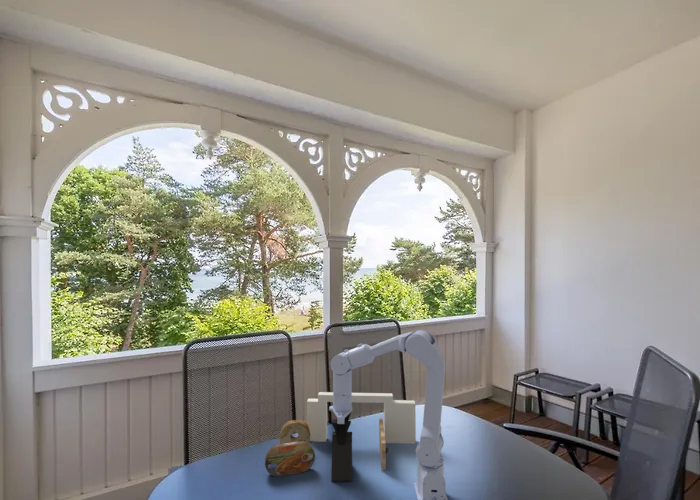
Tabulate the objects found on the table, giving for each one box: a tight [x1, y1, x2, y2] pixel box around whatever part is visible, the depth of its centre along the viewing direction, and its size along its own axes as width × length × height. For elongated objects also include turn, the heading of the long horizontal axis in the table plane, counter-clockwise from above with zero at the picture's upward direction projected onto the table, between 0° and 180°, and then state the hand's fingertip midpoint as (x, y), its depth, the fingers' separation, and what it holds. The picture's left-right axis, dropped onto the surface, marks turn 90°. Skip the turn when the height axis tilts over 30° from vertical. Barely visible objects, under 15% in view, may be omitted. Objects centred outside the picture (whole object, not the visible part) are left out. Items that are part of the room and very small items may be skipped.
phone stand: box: [330, 431, 353, 482], centre depth 108 cm, size 9×6×12 cm, turn 179°
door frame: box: [306, 391, 417, 445], centre depth 129 cm, size 3×39×16 cm, turn 88°
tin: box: [264, 441, 316, 477], centre depth 109 cm, size 15×3×8 cm, turn 105°
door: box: [378, 417, 390, 471], centre depth 119 cm, size 19×2×8 cm, turn 178°
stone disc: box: [279, 419, 311, 444], centre depth 122 cm, size 10×4×10 cm, turn 95°
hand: (342, 438), depth 109 cm, fingers open, 7 cm apart
